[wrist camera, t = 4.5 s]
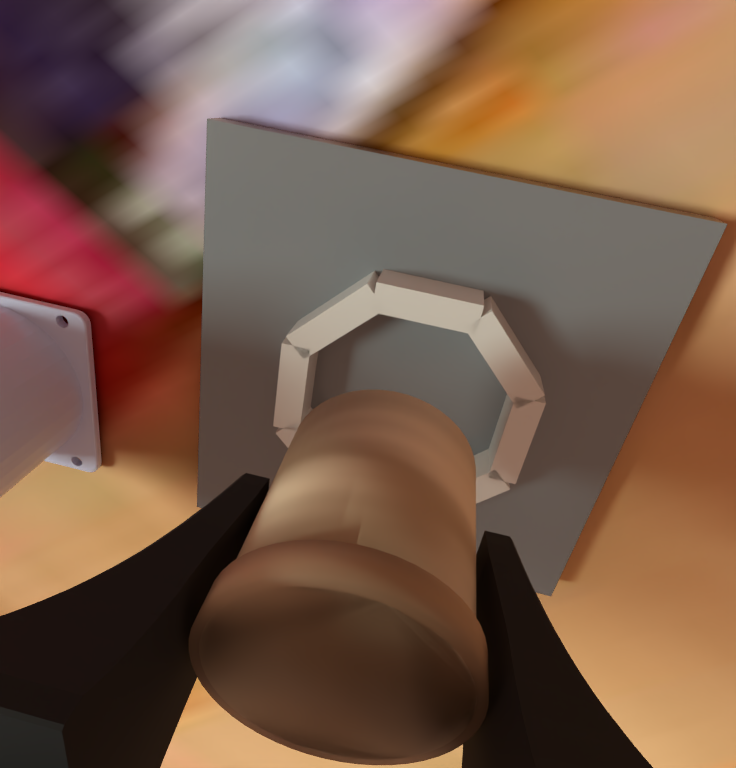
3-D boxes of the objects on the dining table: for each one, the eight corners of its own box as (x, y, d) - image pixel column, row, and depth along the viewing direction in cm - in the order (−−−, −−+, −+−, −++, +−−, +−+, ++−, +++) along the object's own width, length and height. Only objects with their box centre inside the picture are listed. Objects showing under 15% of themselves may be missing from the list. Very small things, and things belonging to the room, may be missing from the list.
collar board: (206, 492, 26) (181, 529, 24) (219, 117, 18) (185, 120, 16) (548, 578, 25) (555, 625, 23) (714, 217, 17) (749, 235, 15)
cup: (281, 521, 17) (197, 728, 12) (286, 365, 14) (177, 548, 9) (462, 557, 16) (456, 789, 11) (505, 403, 13) (524, 619, 8)
